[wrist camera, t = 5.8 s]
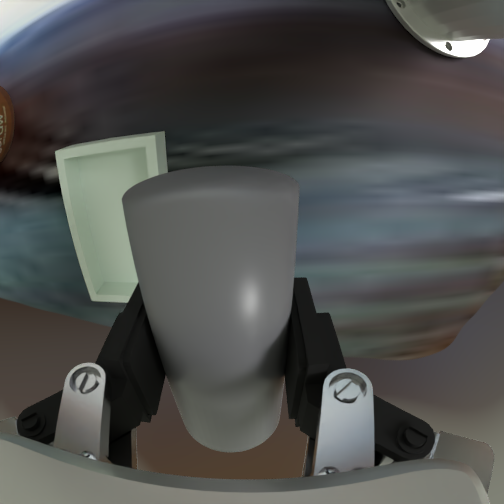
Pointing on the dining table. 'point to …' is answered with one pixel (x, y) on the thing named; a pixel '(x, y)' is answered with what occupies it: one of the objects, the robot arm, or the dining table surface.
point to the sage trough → (106, 206)
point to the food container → (6, 122)
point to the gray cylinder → (218, 293)
